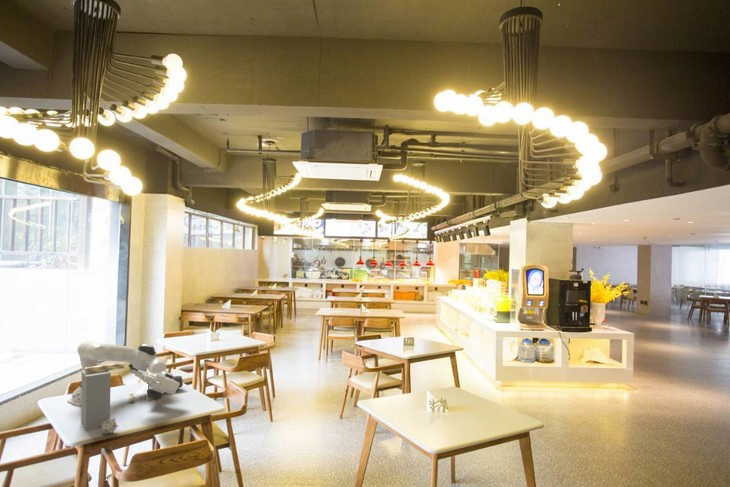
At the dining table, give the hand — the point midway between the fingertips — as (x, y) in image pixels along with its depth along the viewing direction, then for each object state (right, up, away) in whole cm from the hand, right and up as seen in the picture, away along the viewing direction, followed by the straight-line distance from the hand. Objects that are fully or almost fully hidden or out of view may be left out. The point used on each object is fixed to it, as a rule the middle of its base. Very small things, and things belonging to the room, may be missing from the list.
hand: (133, 372), depth 275 cm
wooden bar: (-12, +4, -10) cm, 16 cm away
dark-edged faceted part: (0, -26, -27) cm, 38 cm away
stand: (-16, -26, -13) cm, 33 cm away
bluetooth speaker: (-2, -28, +47) cm, 55 cm away
